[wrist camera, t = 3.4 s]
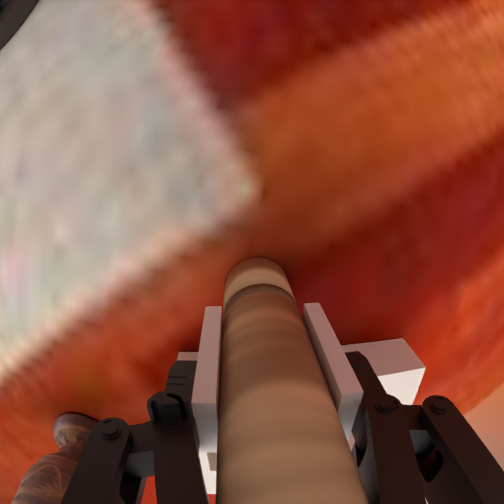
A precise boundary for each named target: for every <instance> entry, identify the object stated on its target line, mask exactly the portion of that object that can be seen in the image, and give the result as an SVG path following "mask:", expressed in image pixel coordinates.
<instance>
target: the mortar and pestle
mask: <svg viewBox="0 0 504 504" xmlns="http://www.w3.org/2000/svg"><path fill="white" fill-rule="evenodd" d="M97 423H98V422H97V421H96V420H93V419H91V418H88V417H86V416H82V415H78V414H71V413H68V414H64V415H61V416H59V417H58V418H57V419H56V421H55V426H54V438H55V441H56V443H57V444H58V446H59V448H60V449H59V451H58V452H57V453H52V454H47V455H44V456H43V457H41V458H40V459H39V460H38V462H37V463H36V464H34V465H33V466H32V467H31V468H30V469H29V470H28V471H27V473H26V474H25V476H24V477H23V479H22V481H21V483H20V486H19V488H18V490H17V494H16V495H15V496H14V499H13V501H12V503H11V504H61V502H62V499H63V497H64V494H65V492H66V489H67V487H68V485H69V482H70V480H71V477H72V475H73V473H74V470H75V468H76V466H77V463H78V461H79V459H80V456H81V454H82V452H83V450H84V447H85V445H86V443H87V441H88V438H89V436H90V434H91V432H92V430H93V428H94V426H95V425H96V424H97Z"/></svg>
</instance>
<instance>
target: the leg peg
mask: <svg viewBox="0 0 504 504" xmlns="http://www.w3.org/2000/svg"><path fill="white" fill-rule="evenodd" d="M216 504H369V502H368V499H367V496H366V493H365V490H364V487H363V484H362V481H361V479H360V476H359V473H358V470H357V467H356V464H355V461H354V458H353V455H352V453H351V450H350V447H349V444H348V441H347V438H346V436H345V433H344V430H343V427H342V424H341V422H340V419H339V416H338V413H337V410H336V408H335V405H334V402H333V399H332V397H331V394H330V391H329V388H328V386H327V383H326V380H325V378H324V375H323V372H322V369H321V367H320V364H319V361H318V359H317V356H316V353H315V351H314V348H313V345H312V343H311V340H310V337H309V335H308V332H307V329H306V327H305V324H304V321H303V319H302V316H301V314H300V311H299V308H298V306H297V303H296V301H295V298H294V295H293V293H292V290H291V288H290V285H289V282H288V280H287V277H286V275H285V273H284V271H283V270H282V268H281V267H280V266H279V265H278V264H277V263H275V262H273V261H272V260H269V259H266V258H262V257H252V258H248V259H245V260H242V261H240V262H239V263H237V264H236V265H235V266H234V267H233V268H232V269H231V270H230V272H229V273H228V275H227V277H226V281H225V290H224V307H223V326H222V345H221V365H220V387H219V411H218V433H217V465H216Z"/></svg>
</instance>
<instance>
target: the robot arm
mask: <svg viewBox="0 0 504 504" xmlns="http://www.w3.org/2000/svg"><path fill="white" fill-rule="evenodd" d="M36 2H37V0H0V49H1V47H2V46H3V45H4V44H5V43H6V42H7V41H8V40H9V39H10V37H11V36H12V35H13V34H14V33H15V31H16V30H17V29H18V28H19V26H20V25H21V24H22V22H23V21H24V20H25V18H26V17H27V16H28V14H29V13H30V11H31V10H32V8H33V7H34V5H35V4H36ZM303 321H304V324H305V327H306V329H307V332H308V335H309V337H310V340H311V343H312V345H313V348H314V351H315V353H316V356H317V359H318V361H319V364H320V367H321V369H322V372H323V375H324V378H325V380H326V383H327V386H328V388H329V391H330V394H331V397H332V399H333V402H334V405H335V408H336V410H337V413H338V416H339V419H340V422H341V424H342V427H343V430H344V433H345V436H346V438H347V441H348V442H349V439H350V436H351V433H352V435H353V437H354V440H355V442H354V445H353V448H352V450H351V453H352V455H353V458H354V461H355V464H356V467H357V470H358V473H359V476H360V479H361V481H362V484H363V487H364V490H365V493H366V496H367V499H368V502H369V504H426V500H427V501H428V504H504V471H503V470H502V468H501V467H500V465H499V464H498V463H497V461H496V460H495V458H494V457H493V456H492V454H491V453H490V452H489V450H488V449H487V447H486V446H485V445H484V443H483V442H482V441H481V439H480V438H479V437H478V435H477V434H476V433H475V431H474V430H473V429H472V427H471V426H470V425H469V423H468V422H467V421H466V420H465V418H464V417H463V416H462V414H461V413H460V412H459V410H458V409H457V408H456V407H455V405H454V404H453V403H452V402H451V401H450V400H449V399H448V398H446V397H443V396H438V395H434V396H430V397H428V398H426V399H425V400H424V402H423V404H422V405H405V404H401V402H400V400H399V399H397V398H396V397H395V396H392V395H390V394H387V393H386V391H385V389H384V387H383V386H382V384H381V382H380V380H379V379H378V377H377V375H376V373H374V370H373V368H372V366H371V365H370V363H369V361H368V359H367V358H366V357H365V356H364V355H363V354H361V353H360V352H359V351H353V352H344V351H343V349H342V347H341V345H340V343H339V341H338V339H337V337H336V335H335V333H334V331H333V329H332V327H331V325H330V323H329V321H328V319H327V317H326V315H325V313H324V312H323V310H322V308H321V306H320V304H319V303H305V304H304V311H303ZM222 326H223V324H222V306H210V307H206V308H205V314H204V321H203V327H202V333H201V340H200V346H199V353H198V359H197V361H193V360H177V361H176V362H175V363H174V364H173V365H172V366H171V368H170V371H169V375H168V379H167V385H166V387H165V391H162V392H158V393H156V394H154V395H153V396H152V397H151V398H150V399H149V400H148V403H147V409H148V412H149V415H150V418H151V420H150V421H148V422H146V423H142V424H137V425H130V426H128V424H127V423H126V422H125V421H123V420H122V419H119V418H106V419H103V420H101V421H99V422H98V423H97V424H96V425H95V426H94V428H93V430H92V432H91V434H90V436H89V438H88V441H87V443H86V445H85V447H84V450H83V452H82V454H81V456H80V459H79V461H78V463H77V466H76V468H75V470H74V473H73V475H72V477H71V480H70V482H69V485H68V487H67V489H66V492H65V494H64V497H63V499H62V502H61V504H141V500H142V496H143V491H144V487H145V483H146V479H147V476H154V475H155V485H156V496H157V504H209V500H208V496H207V491H206V487H205V482H204V477H203V473H202V468H201V463H200V458H199V448H200V451H201V452H211V453H217V433H218V411H219V387H220V365H221V345H222ZM425 498H426V500H425Z"/></svg>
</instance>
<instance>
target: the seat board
mask: <svg viewBox="0 0 504 504" xmlns="http://www.w3.org/2000/svg"><path fill="white" fill-rule="evenodd" d="M341 347H342V349H343V351H344V352H353V351H359V352H360V353H361V354H363V355H364V356H365V357H366V358H367V359H368V361H369V363H370V365H371V366H372V368H373V370H374V373H376V375H377V377H378V379H379V380H380V382H381V384H382V386H383V387H384V389H385V391H386V393H387V394H390V395H392V396H395V397H396V398H397V399H399V400H400V402H401V404H405V405H412V403H413V401H414V398H415V396H416V393H417V391H418V388H419V385H420V383H421V380H422V377H423V374H424V371H425V368H426V367H425V366H424V364H423V363H422V362H421V360H420V359H419V358H418V357H417V355H416V354H415V353H414V351H413V350H412V349H411V348H410V346H409V345H408V344H407V342H406V341H405V340H404V339H403V338H399V339H392V340H384V341H376V342H368V343H359V344H350V345H341ZM198 353H199V352H179V354H178V358H177V360H193V361H197V359H198ZM354 442H355V440H354V437H353V435H352V433H351V436H350V439H349V442H348V444H349V447H350V450H352V448H353V445H354ZM199 458H200V463H201V468H202V473H203V477H204V482H205V487H206V491H207V494H216V465H217V453H211V452H201V451H200V448H199Z"/></svg>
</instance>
